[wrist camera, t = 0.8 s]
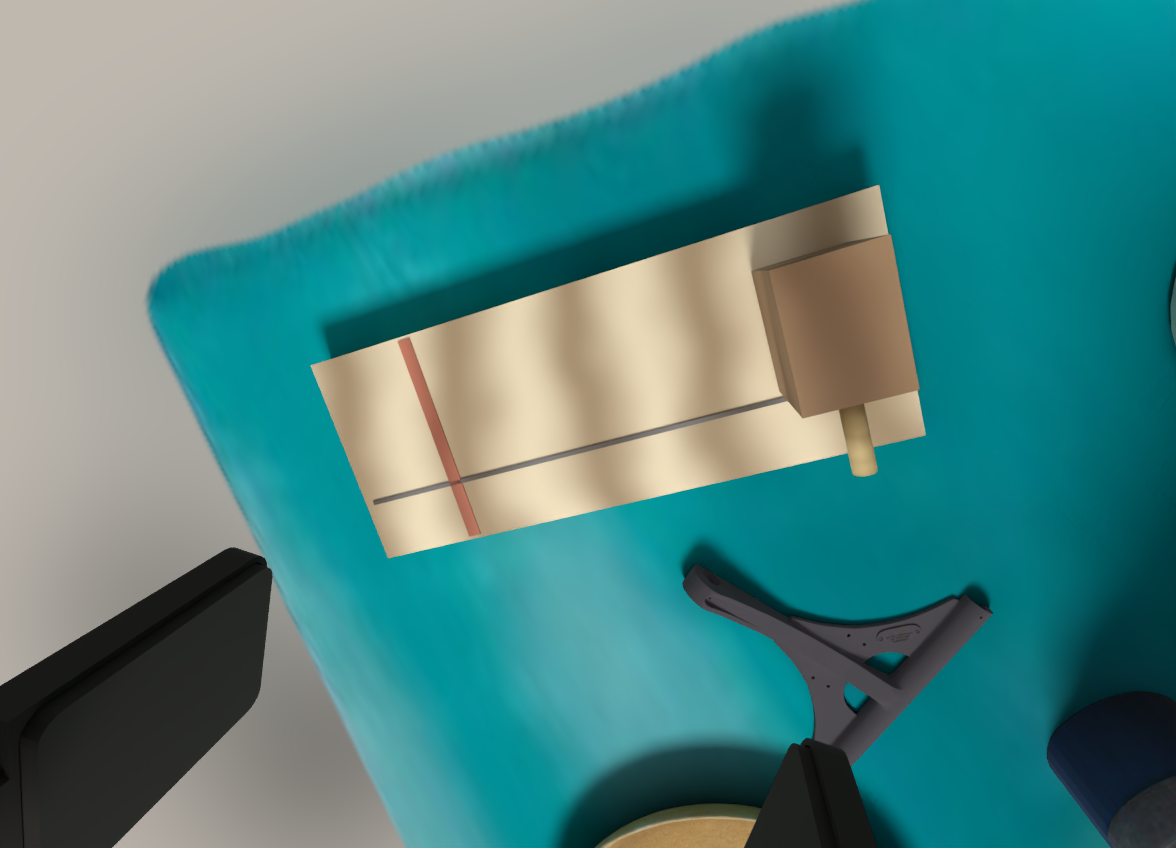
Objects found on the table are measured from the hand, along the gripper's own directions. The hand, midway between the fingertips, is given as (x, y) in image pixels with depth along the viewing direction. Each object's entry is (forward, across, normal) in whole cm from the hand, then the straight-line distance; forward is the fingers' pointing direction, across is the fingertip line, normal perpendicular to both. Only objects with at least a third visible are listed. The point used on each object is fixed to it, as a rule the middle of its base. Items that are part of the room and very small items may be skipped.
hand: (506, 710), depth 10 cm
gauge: (+21, -8, -6) cm, 23 cm away
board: (+23, +2, 0) cm, 23 cm away
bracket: (+24, -13, +10) cm, 30 cm away
